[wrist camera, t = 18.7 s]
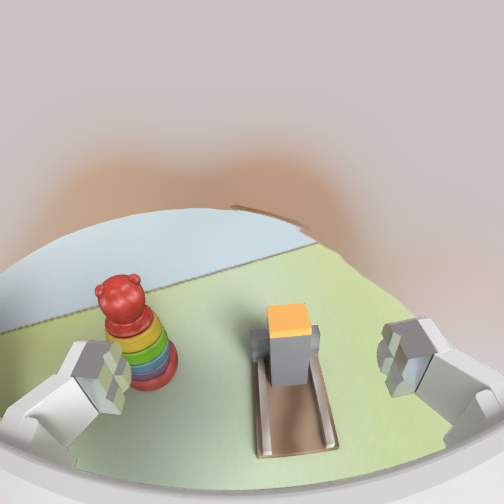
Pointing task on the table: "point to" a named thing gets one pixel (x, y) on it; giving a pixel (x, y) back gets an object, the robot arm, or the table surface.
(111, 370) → the robot arm
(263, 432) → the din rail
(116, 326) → the stacking bear
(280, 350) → the grey tall block
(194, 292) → the table surface
